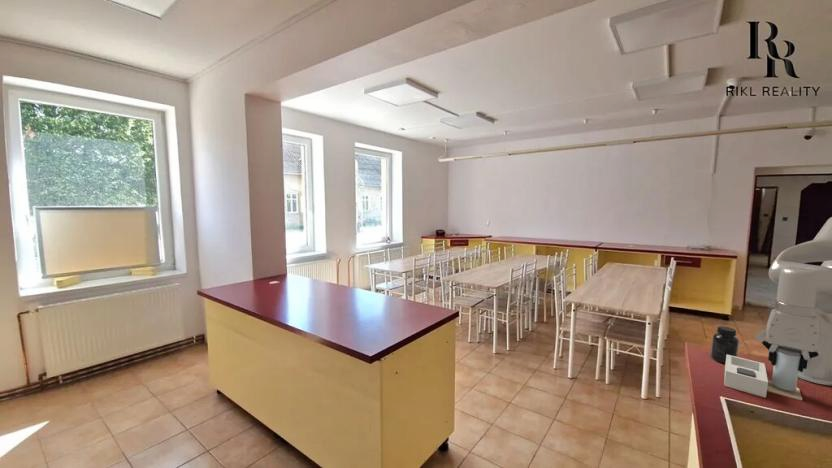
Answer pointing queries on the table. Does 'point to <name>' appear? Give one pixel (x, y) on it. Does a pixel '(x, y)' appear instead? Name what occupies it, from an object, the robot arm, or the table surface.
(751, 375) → the plunger
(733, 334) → the supplement bottle
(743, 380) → the box
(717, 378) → the table surface
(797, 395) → the oak pad
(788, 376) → the cylinder
